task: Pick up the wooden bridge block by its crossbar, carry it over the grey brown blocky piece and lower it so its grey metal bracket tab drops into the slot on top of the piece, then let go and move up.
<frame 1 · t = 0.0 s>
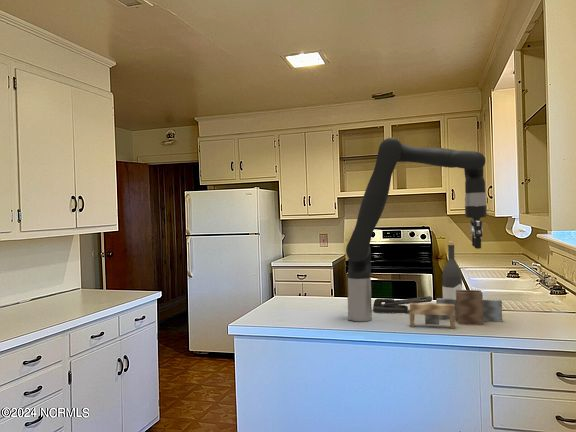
hand: (476, 247, 170), 29 cm above the counter, tool pointing down, fingers open, 8 cm apart
grey brown blocky piece: (469, 322, 173), on the counter
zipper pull: (402, 312, 194), on the counter
wooden bridge block: (432, 326, 168), on the counter
wine bottle: (452, 311, 192), on the counter
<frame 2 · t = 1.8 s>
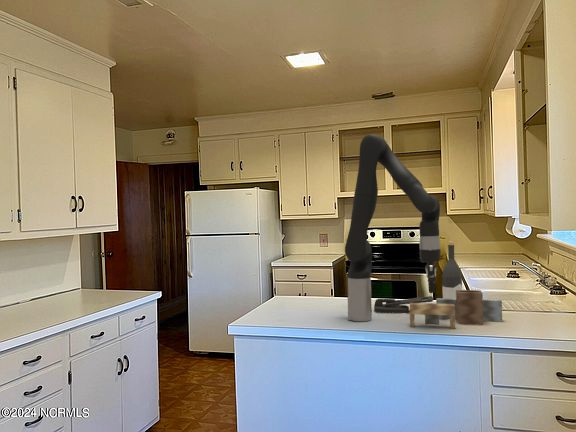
hand: (431, 290, 168), 14 cm above the counter, tool pointing down, fingers open, 8 cm apart
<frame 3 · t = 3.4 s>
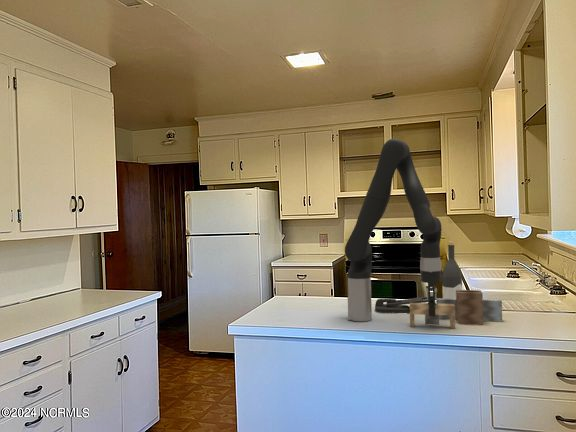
hand: (432, 314, 168), 5 cm above the counter, tool pointing down, fingers closed on wooden bridge block, 3 cm apart
wooden bridge block: (432, 326, 168), on the counter, touching gripper
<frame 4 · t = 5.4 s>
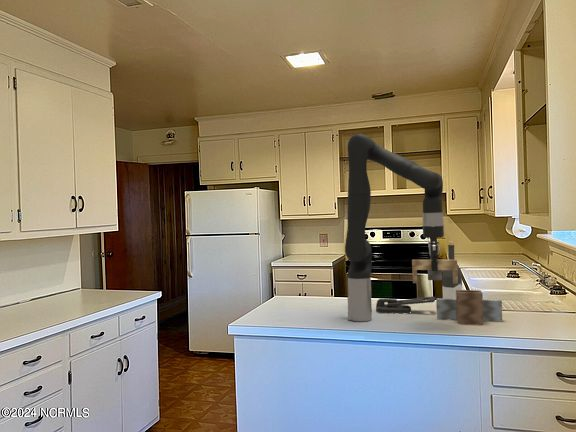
hand: (434, 270, 168), 21 cm above the counter, tool pointing down, fingers closed on wooden bridge block, 3 cm apart
wooden bridge block: (435, 282, 168), point 17 cm above the counter, touching gripper
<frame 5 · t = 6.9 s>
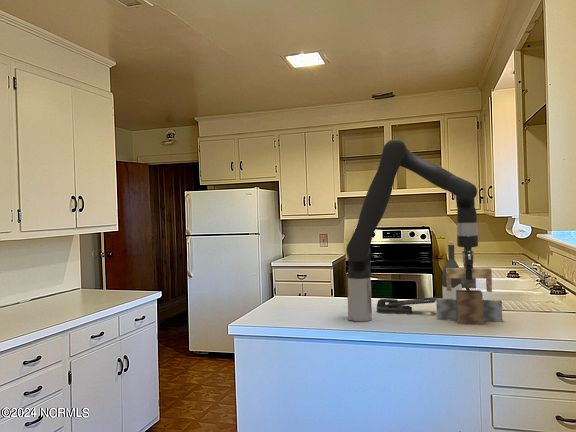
hand: (468, 278, 172), 17 cm above the counter, tool pointing down, fingers closed on wooden bridge block, 3 cm apart
wooden bridge block: (468, 290, 172), point 12 cm above the counter, touching gripper
when the fingers open (13 cm above the counter, at t = 8.0 s): wooden bridge block drops 1 cm, resting on grey brown blocky piece.
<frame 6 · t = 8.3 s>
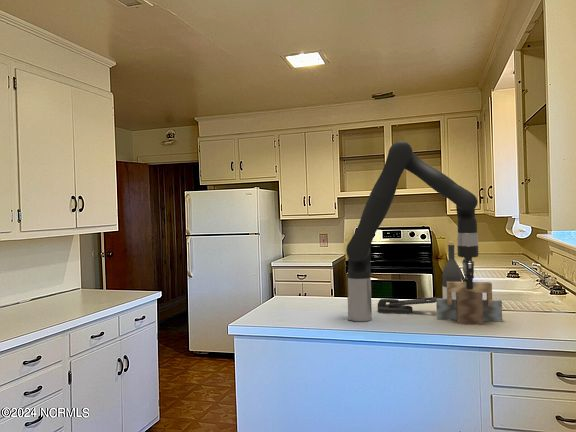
hand: (468, 287, 172), 14 cm above the counter, tool pointing down, fingers open, 6 cm apart
wooden bridge block: (469, 304, 173), point 7 cm above the counter, touching grey brown blocky piece
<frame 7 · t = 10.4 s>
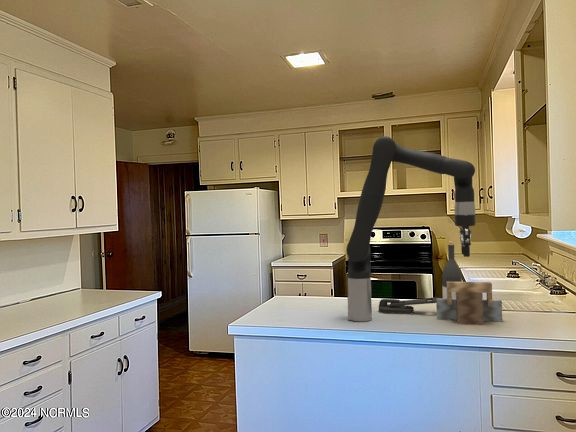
hand: (465, 255, 173), 26 cm above the counter, tool pointing down, fingers open, 8 cm apart
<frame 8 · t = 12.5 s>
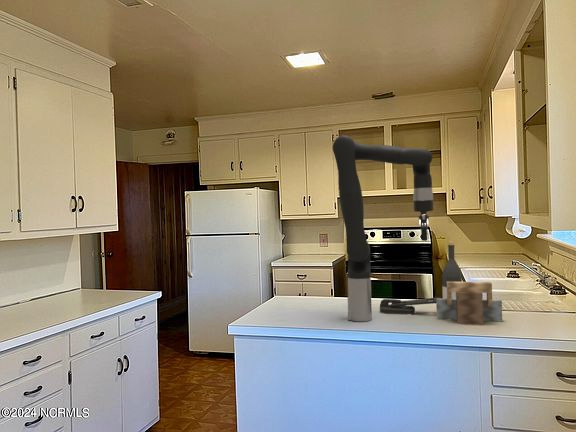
hand: (424, 239, 179), 32 cm above the counter, tool pointing down, fingers open, 8 cm apart
at the end: wooden bridge block 0.0 cm off-centre on the grey brown blocky piece, point 7.0 cm above the grey brown blocky piece's base; wooden bridge block tilted 0°; the gripper is holding nothing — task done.
